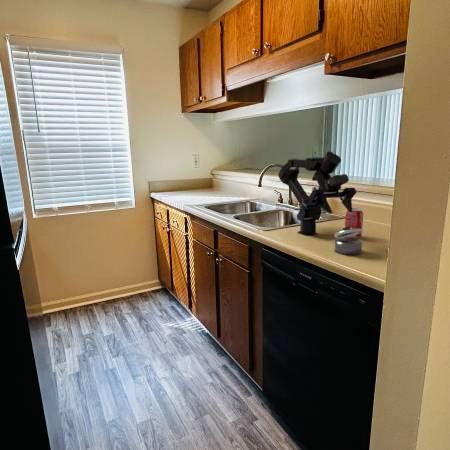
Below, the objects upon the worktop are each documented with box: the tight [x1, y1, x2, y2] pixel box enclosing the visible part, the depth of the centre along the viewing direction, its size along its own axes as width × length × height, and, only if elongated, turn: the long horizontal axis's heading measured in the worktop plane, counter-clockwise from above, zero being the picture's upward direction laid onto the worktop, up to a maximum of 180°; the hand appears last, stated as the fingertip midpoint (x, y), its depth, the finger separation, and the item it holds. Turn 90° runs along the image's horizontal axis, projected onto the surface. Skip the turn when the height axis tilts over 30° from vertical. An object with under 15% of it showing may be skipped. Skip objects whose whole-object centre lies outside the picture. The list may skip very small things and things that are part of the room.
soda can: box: [344, 207, 364, 239], centre depth 144 cm, size 7×7×12 cm
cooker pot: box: [334, 237, 363, 257], centre depth 124 cm, size 9×9×4 cm
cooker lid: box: [333, 226, 363, 239], centre depth 124 cm, size 10×10×3 cm
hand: (341, 212), depth 127 cm, fingers open, 9 cm apart
